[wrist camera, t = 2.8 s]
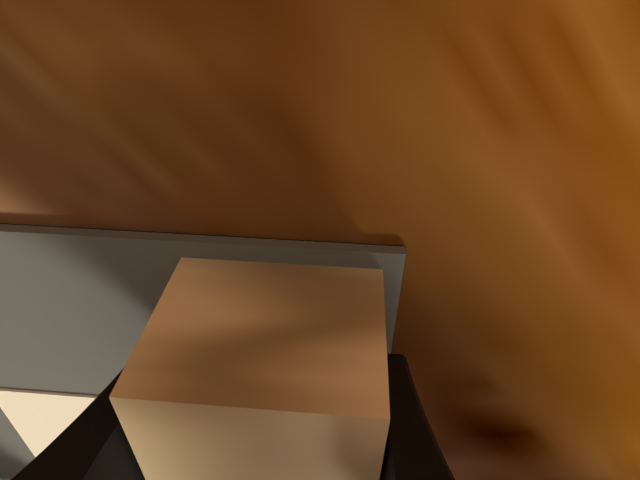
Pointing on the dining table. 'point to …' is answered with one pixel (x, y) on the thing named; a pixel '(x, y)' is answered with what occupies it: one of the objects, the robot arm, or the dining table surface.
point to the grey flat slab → (111, 312)
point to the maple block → (260, 374)
